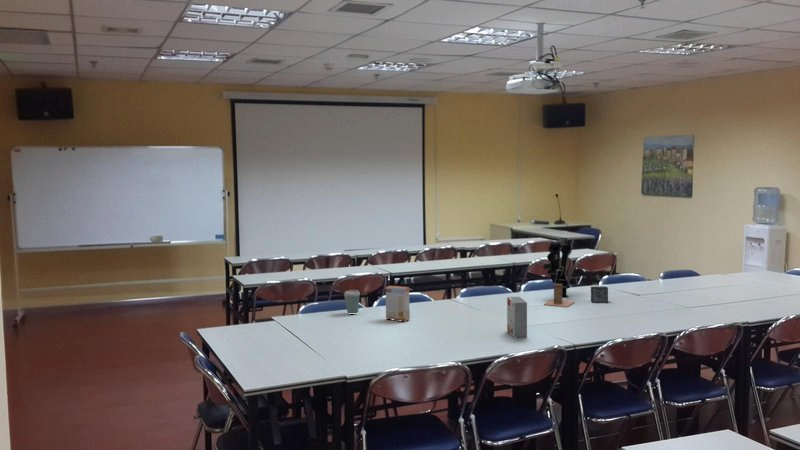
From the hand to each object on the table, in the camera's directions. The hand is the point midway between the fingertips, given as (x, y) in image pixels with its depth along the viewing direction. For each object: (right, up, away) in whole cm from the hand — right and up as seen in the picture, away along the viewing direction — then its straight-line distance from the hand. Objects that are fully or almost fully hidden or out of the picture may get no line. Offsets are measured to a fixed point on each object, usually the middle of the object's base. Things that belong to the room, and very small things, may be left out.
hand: (555, 281), depth 450 cm
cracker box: (-109, -20, -49) cm, 122 cm away
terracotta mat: (0, -14, -11) cm, 18 cm away
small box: (+28, -13, -6) cm, 32 cm away
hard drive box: (-43, -22, -88) cm, 100 cm away
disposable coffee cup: (-139, -18, -31) cm, 143 cm away
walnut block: (-2, -13, -14) cm, 19 cm away
